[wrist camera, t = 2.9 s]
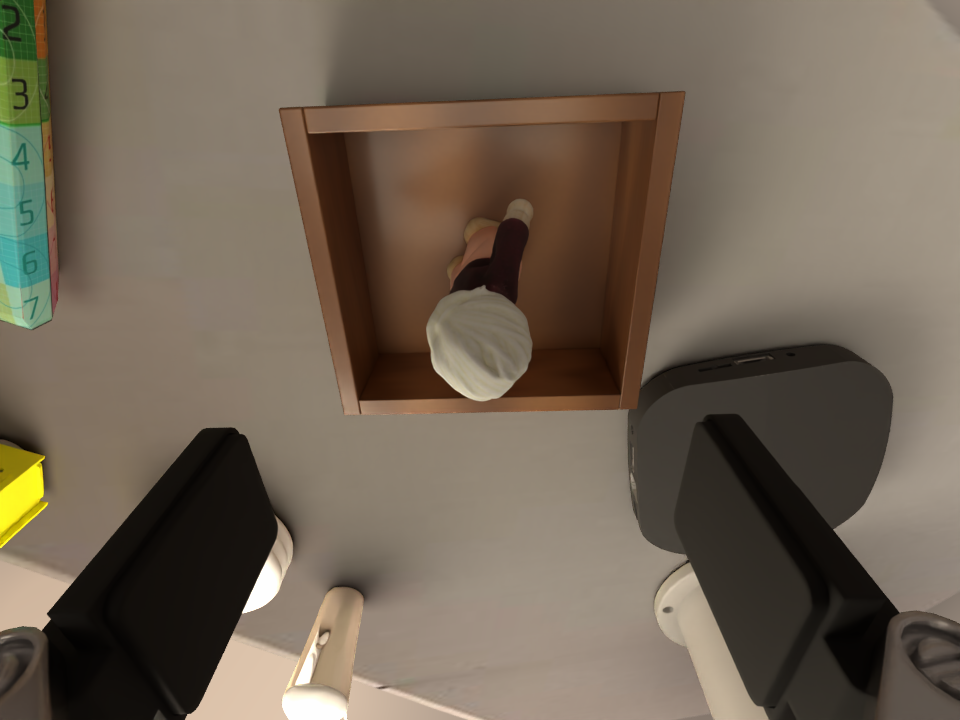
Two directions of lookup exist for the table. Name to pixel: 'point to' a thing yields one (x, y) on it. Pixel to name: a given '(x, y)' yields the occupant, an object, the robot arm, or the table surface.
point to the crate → (487, 193)
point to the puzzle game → (26, 169)
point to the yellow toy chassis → (19, 488)
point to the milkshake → (326, 660)
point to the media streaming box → (765, 428)
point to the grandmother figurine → (484, 309)
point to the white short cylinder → (272, 570)
